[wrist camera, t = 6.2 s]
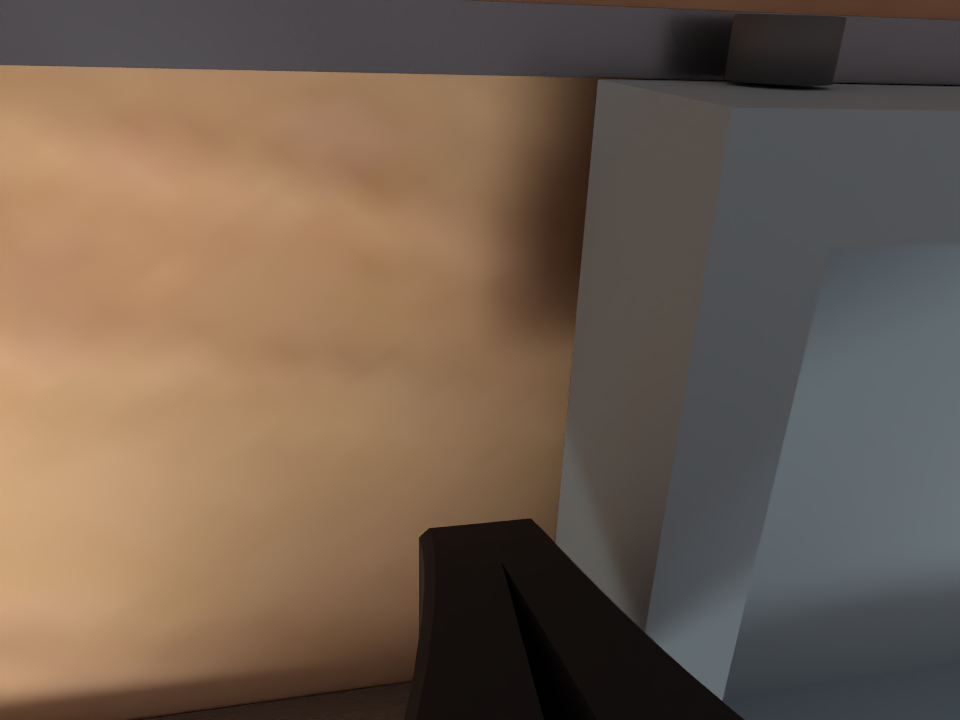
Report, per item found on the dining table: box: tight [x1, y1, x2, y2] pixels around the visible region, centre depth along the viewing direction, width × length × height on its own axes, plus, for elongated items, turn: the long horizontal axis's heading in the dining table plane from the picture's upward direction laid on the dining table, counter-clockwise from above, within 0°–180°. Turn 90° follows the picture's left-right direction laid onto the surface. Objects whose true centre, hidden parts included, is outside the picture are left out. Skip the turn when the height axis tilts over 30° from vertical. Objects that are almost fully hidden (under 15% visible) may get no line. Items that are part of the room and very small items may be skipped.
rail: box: [0, 0, 960, 720], centre depth 12 cm, size 13×31×2 cm, turn 88°
